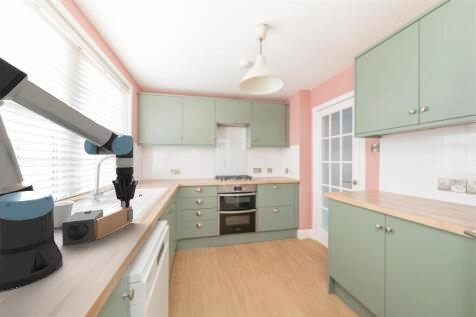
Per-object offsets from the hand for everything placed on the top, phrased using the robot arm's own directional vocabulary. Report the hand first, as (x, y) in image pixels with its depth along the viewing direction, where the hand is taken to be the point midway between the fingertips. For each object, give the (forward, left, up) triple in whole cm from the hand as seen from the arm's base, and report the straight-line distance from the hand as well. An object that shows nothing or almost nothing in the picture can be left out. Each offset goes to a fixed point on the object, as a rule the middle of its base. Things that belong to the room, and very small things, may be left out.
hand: (125, 213), depth 93 cm
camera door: (-7, +2, -5) cm, 9 cm away
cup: (+12, +29, -6) cm, 32 cm away
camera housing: (-8, +14, -5) cm, 17 cm away
